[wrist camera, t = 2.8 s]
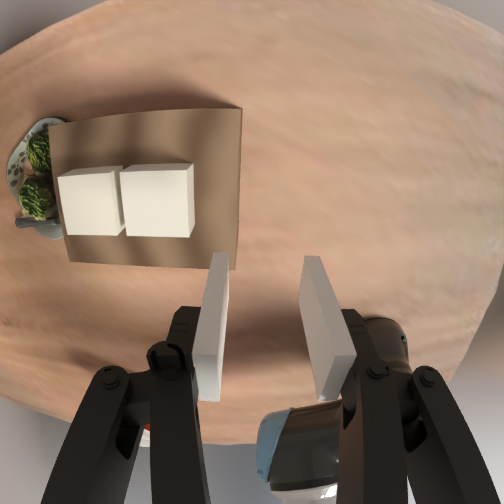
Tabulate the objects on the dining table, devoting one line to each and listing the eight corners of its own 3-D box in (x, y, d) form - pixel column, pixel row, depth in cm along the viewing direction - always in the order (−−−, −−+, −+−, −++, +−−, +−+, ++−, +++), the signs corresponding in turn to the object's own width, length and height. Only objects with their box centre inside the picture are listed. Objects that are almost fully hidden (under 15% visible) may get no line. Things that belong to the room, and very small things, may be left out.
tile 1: (193, 163, 25) (186, 170, 23) (194, 224, 28) (189, 237, 25) (132, 164, 25) (119, 172, 22) (137, 223, 28) (126, 235, 25)
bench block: (242, 108, 31) (239, 108, 23) (238, 233, 38) (235, 269, 31) (88, 118, 30) (48, 126, 23) (99, 230, 38) (69, 261, 30)
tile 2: (122, 165, 25) (109, 172, 22) (128, 223, 28) (117, 235, 25) (73, 169, 25) (57, 177, 22) (81, 222, 28) (67, 234, 25)
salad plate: (47, 259, 41) (33, 273, 37) (-3, 175, 33) (-21, 184, 29) (123, 203, 37) (109, 216, 33) (63, 99, 29) (43, 101, 25)
